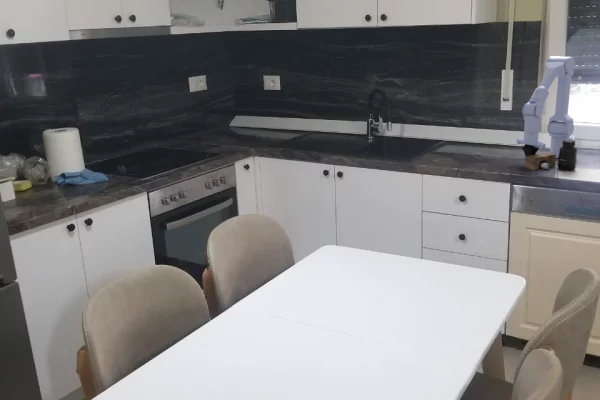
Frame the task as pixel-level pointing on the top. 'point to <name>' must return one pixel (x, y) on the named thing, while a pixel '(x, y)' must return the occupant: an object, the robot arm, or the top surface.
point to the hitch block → (539, 160)
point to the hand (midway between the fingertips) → (529, 162)
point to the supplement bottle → (567, 156)
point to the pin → (544, 166)
